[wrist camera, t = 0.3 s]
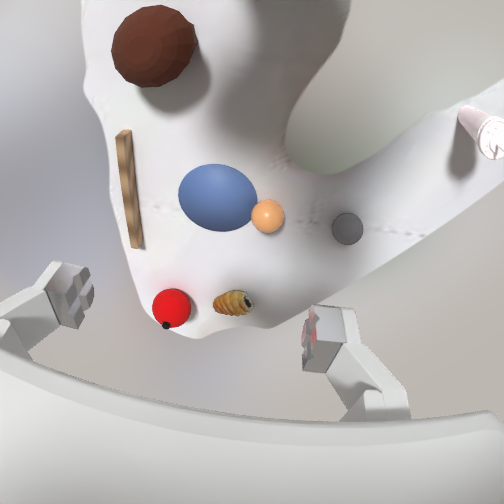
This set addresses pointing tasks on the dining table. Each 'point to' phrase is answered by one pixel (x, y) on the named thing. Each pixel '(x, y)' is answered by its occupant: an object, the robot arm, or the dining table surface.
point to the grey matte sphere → (347, 229)
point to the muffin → (153, 46)
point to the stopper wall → (129, 186)
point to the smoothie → (484, 131)
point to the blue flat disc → (217, 197)
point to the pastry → (233, 303)
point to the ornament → (171, 308)
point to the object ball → (267, 216)
